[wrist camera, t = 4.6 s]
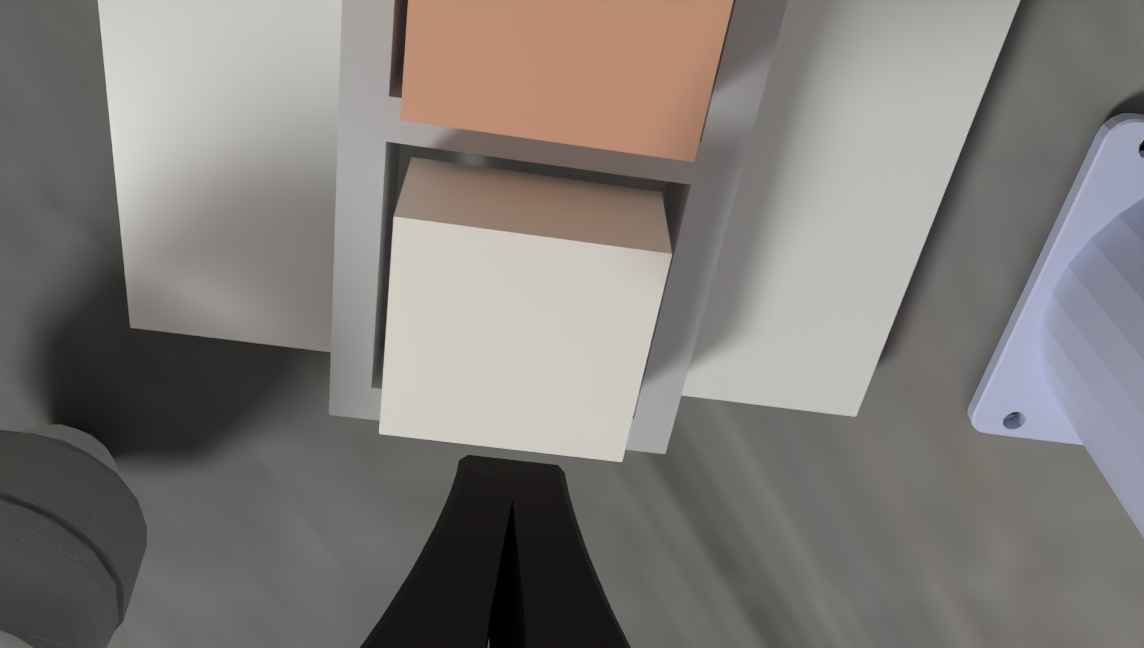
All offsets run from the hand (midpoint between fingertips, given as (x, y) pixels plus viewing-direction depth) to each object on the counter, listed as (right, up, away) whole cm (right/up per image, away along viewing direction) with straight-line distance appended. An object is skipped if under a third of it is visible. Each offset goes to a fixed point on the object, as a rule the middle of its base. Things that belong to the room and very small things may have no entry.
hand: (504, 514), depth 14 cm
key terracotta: (+1, +8, +2) cm, 9 cm away
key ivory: (0, +3, +5) cm, 6 cm away
